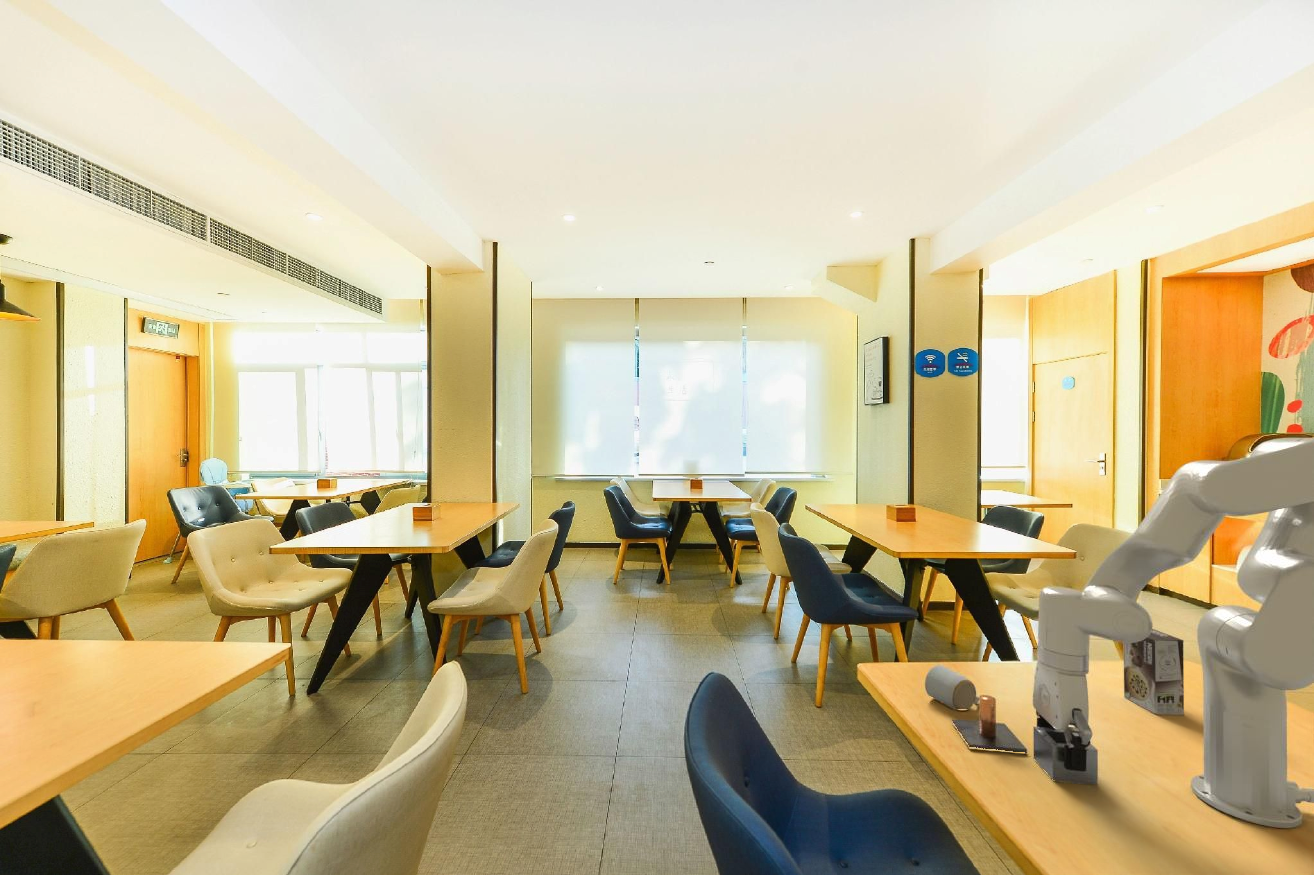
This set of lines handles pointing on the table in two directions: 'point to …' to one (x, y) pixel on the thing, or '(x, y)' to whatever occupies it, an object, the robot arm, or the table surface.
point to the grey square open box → (1062, 757)
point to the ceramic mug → (950, 688)
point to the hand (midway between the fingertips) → (1059, 754)
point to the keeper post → (988, 729)
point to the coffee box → (1155, 673)
